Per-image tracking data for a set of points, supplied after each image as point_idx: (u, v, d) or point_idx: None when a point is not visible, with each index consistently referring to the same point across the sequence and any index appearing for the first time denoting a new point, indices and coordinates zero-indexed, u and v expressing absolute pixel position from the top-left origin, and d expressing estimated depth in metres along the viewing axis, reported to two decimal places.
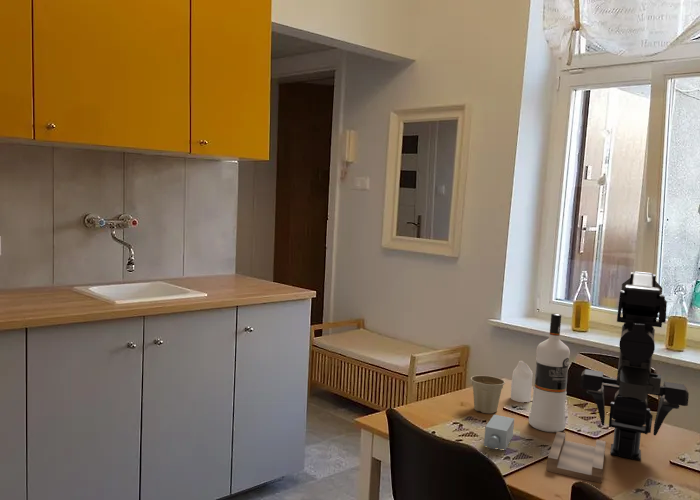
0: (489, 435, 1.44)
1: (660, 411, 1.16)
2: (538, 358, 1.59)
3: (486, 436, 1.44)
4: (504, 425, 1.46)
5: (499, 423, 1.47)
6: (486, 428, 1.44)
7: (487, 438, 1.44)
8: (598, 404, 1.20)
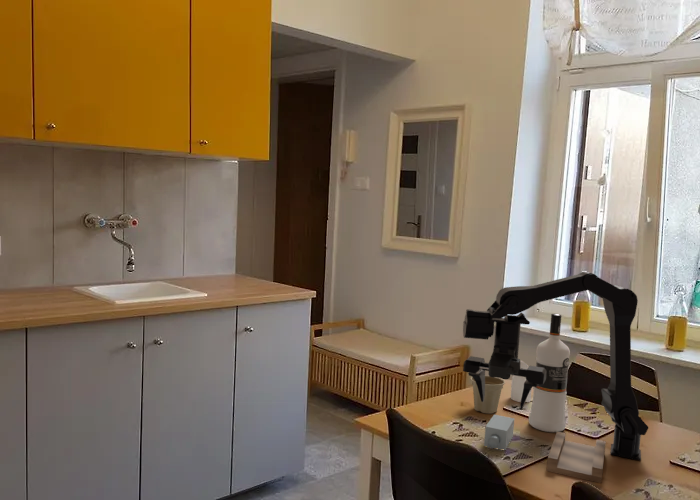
0: (489, 435, 1.44)
1: (524, 389, 1.43)
2: (538, 358, 1.59)
3: (486, 436, 1.44)
4: (504, 425, 1.46)
5: (499, 422, 1.47)
6: (486, 428, 1.44)
7: (487, 438, 1.44)
8: (478, 384, 1.48)
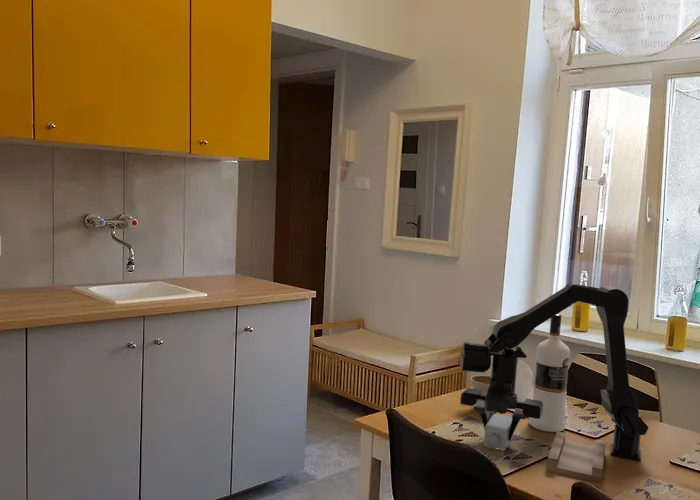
0: (489, 434, 1.44)
1: (512, 421, 1.45)
2: (538, 358, 1.59)
3: (486, 435, 1.44)
4: (504, 424, 1.46)
5: (499, 422, 1.48)
6: (486, 427, 1.44)
7: (487, 437, 1.44)
8: (482, 418, 1.48)
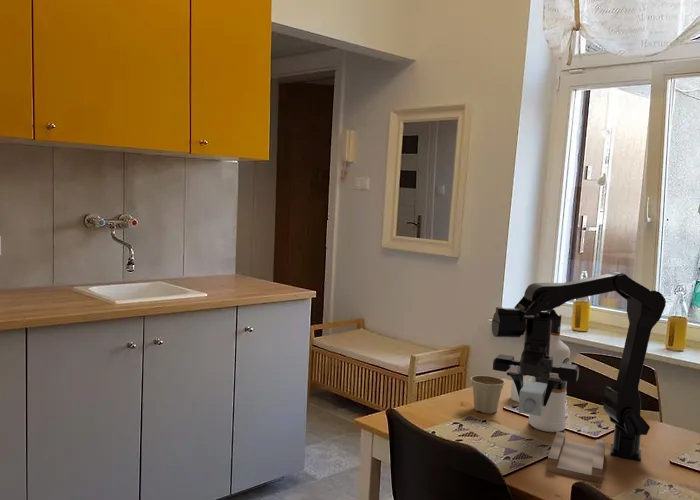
0: (524, 400, 1.40)
1: (547, 386, 1.40)
2: None
3: (521, 401, 1.40)
4: (539, 390, 1.42)
5: (533, 387, 1.43)
6: (520, 392, 1.40)
7: (522, 403, 1.40)
8: (516, 384, 1.44)
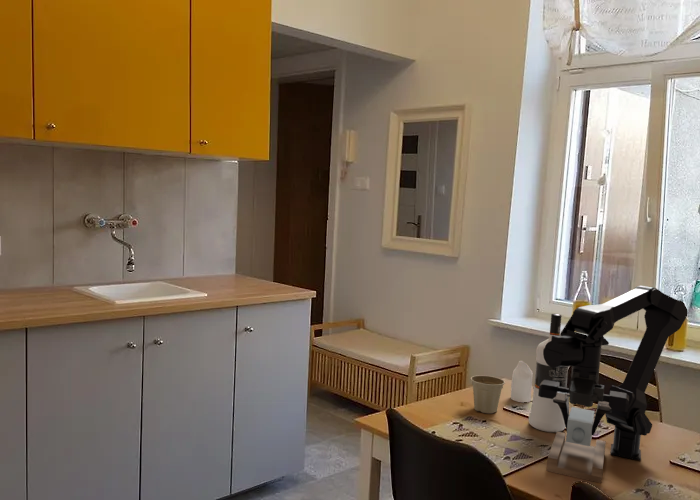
0: (572, 428, 1.35)
1: (596, 414, 1.35)
2: (538, 358, 1.59)
3: (569, 429, 1.35)
4: (587, 418, 1.37)
5: (580, 415, 1.38)
6: (569, 421, 1.35)
7: (570, 432, 1.35)
8: (563, 412, 1.39)
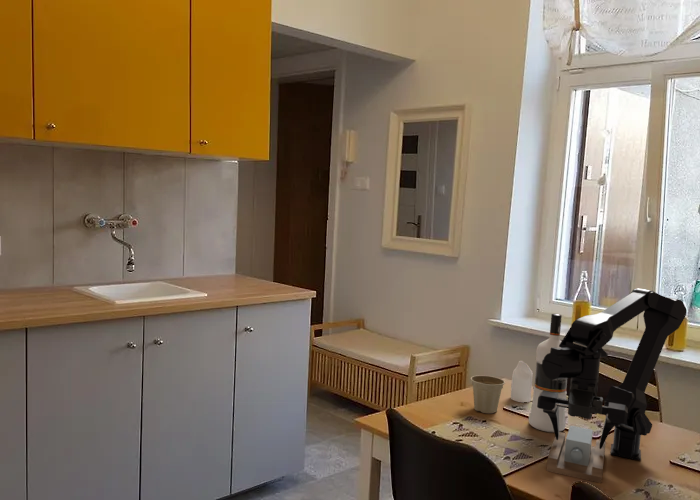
0: (570, 448, 1.35)
1: (604, 428, 1.35)
2: (538, 358, 1.59)
3: (567, 449, 1.35)
4: (585, 438, 1.37)
5: (578, 434, 1.39)
6: (567, 441, 1.35)
7: (568, 451, 1.35)
8: (553, 421, 1.39)
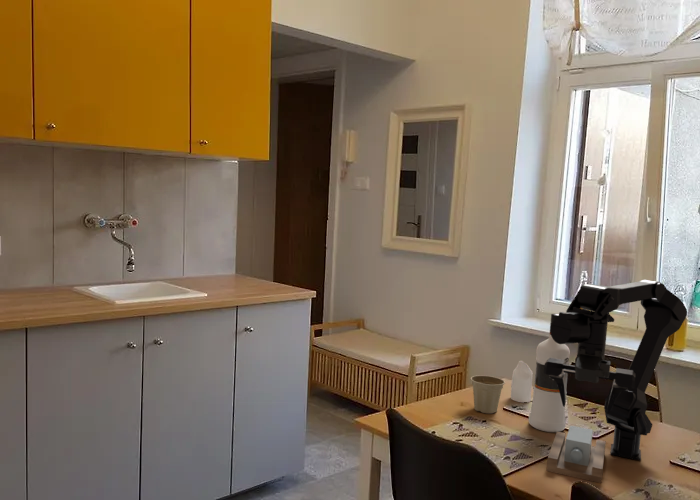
0: (570, 448, 1.35)
1: (612, 393, 1.34)
2: (538, 358, 1.59)
3: (567, 449, 1.35)
4: (585, 438, 1.37)
5: (578, 434, 1.39)
6: (567, 441, 1.35)
7: (568, 451, 1.35)
8: (559, 387, 1.39)
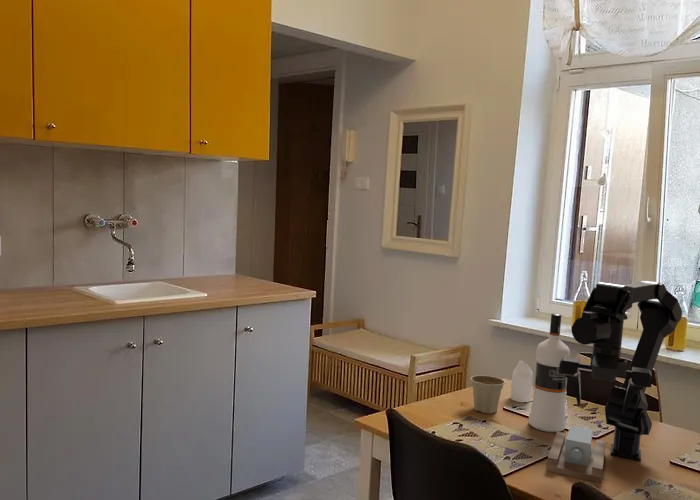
0: (570, 448, 1.35)
1: (628, 392, 1.33)
2: (538, 358, 1.59)
3: (567, 449, 1.35)
4: (585, 438, 1.37)
5: (578, 434, 1.39)
6: (567, 441, 1.35)
7: (568, 451, 1.35)
8: (574, 387, 1.37)
